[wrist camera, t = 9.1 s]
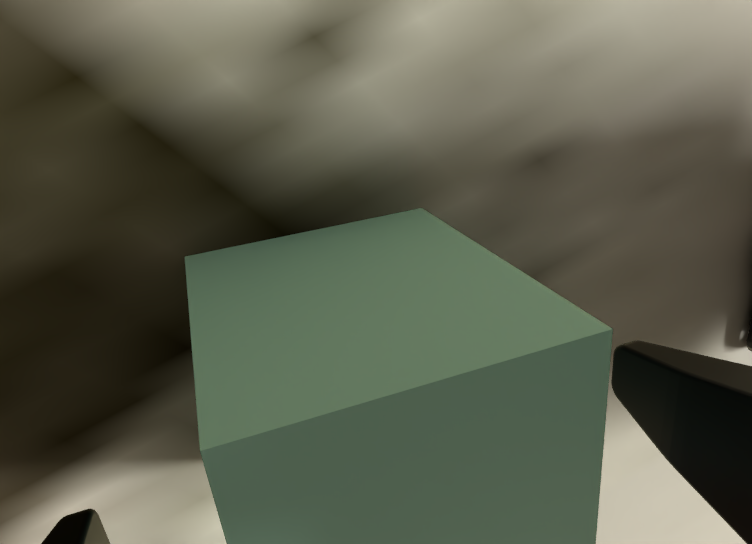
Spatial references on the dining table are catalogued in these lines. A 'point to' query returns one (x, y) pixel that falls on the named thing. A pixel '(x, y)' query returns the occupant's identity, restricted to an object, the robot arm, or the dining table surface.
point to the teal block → (394, 391)
